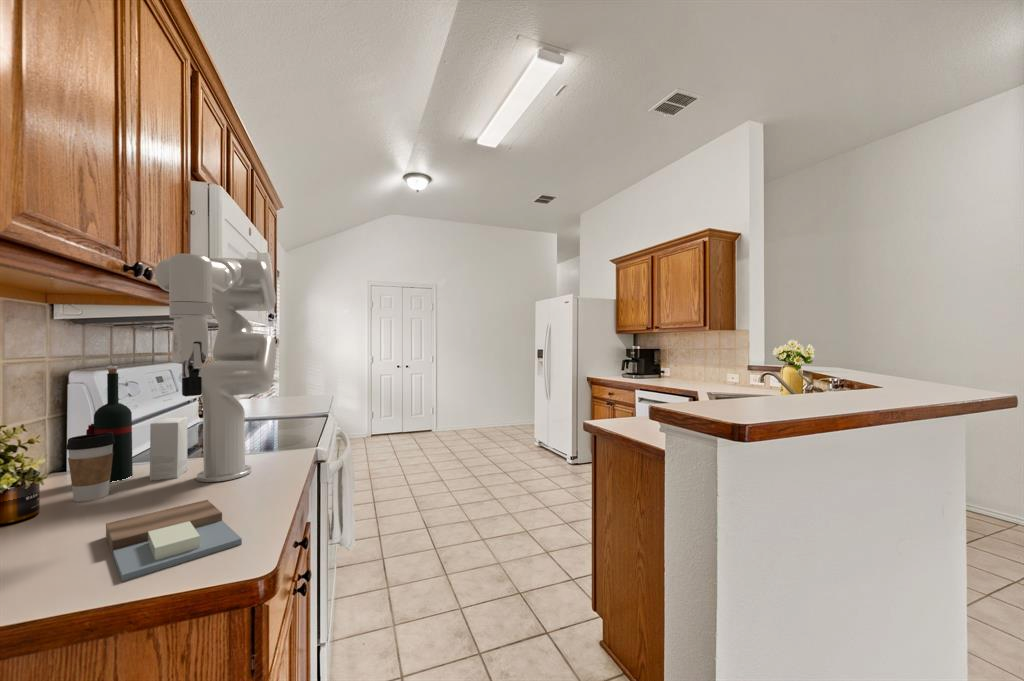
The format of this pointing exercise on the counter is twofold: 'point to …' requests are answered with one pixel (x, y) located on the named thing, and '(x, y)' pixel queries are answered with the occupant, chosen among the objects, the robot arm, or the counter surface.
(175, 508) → the walnut deck
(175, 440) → the skincare box
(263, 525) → the counter surface
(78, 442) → the coffee cup
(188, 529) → the sage tile
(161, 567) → the slate mat
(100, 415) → the wine bottle
